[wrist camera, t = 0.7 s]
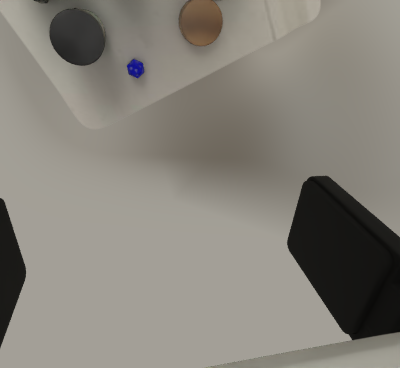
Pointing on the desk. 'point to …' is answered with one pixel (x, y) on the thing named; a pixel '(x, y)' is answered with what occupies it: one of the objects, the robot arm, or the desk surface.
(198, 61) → the desk surface
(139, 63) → the die
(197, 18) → the brown round disc
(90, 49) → the lid
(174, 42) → the desk surface
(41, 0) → the rock
